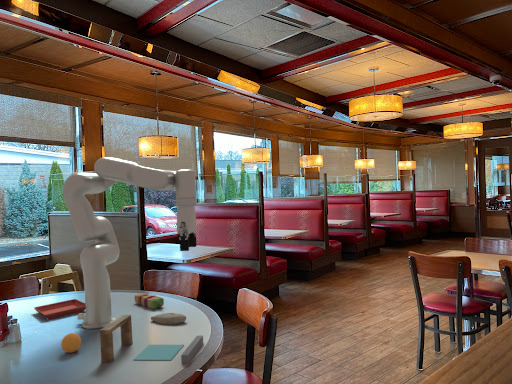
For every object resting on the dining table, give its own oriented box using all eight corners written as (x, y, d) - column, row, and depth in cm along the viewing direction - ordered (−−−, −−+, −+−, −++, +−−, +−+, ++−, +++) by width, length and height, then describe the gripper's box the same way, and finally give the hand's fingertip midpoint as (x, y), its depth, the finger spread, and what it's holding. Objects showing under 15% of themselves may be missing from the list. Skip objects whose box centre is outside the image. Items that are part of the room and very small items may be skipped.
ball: (57, 355, 133) (56, 337, 133) (68, 348, 139) (67, 330, 139) (75, 355, 132) (74, 337, 132) (85, 348, 138) (84, 330, 138)
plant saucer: (33, 314, 185) (33, 306, 185) (75, 305, 197) (75, 298, 197) (45, 322, 171) (44, 314, 171) (89, 312, 183) (89, 304, 183)
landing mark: (133, 360, 126) (133, 359, 126) (149, 345, 138) (149, 344, 138) (171, 360, 124) (171, 359, 124) (183, 345, 136) (183, 344, 136)
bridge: (101, 362, 126) (99, 330, 126) (124, 343, 141) (122, 314, 141) (110, 362, 126) (108, 330, 126) (132, 343, 141) (131, 314, 140)
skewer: (132, 304, 192) (131, 293, 192) (145, 301, 196) (144, 290, 196) (156, 312, 177) (155, 300, 177) (169, 308, 181) (168, 297, 181)
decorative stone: (155, 319, 167) (154, 311, 167) (190, 320, 163) (189, 312, 163) (147, 324, 161) (146, 315, 161) (183, 326, 157) (182, 317, 157)
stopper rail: (181, 363, 122) (181, 355, 122) (197, 343, 138) (197, 335, 138) (188, 363, 122) (187, 355, 122) (203, 343, 137) (202, 335, 137)
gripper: (183, 202, 164) (185, 245, 164) (168, 204, 147) (171, 252, 147) (202, 201, 163) (204, 245, 163) (189, 203, 146) (191, 252, 146)
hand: (188, 248), depth 155 cm, fingers open, 9 cm apart
